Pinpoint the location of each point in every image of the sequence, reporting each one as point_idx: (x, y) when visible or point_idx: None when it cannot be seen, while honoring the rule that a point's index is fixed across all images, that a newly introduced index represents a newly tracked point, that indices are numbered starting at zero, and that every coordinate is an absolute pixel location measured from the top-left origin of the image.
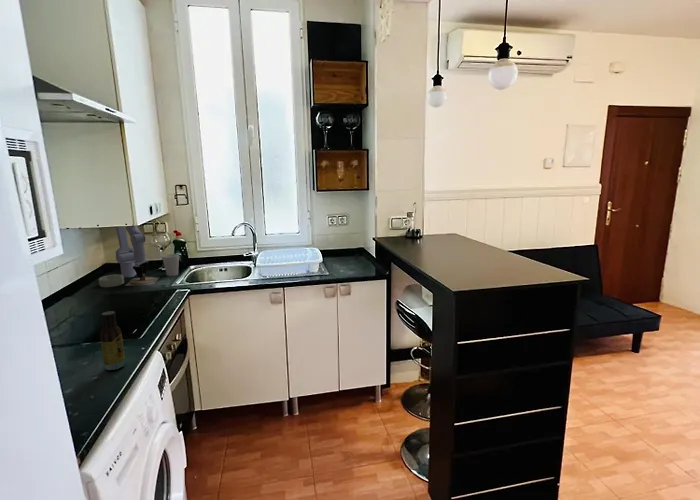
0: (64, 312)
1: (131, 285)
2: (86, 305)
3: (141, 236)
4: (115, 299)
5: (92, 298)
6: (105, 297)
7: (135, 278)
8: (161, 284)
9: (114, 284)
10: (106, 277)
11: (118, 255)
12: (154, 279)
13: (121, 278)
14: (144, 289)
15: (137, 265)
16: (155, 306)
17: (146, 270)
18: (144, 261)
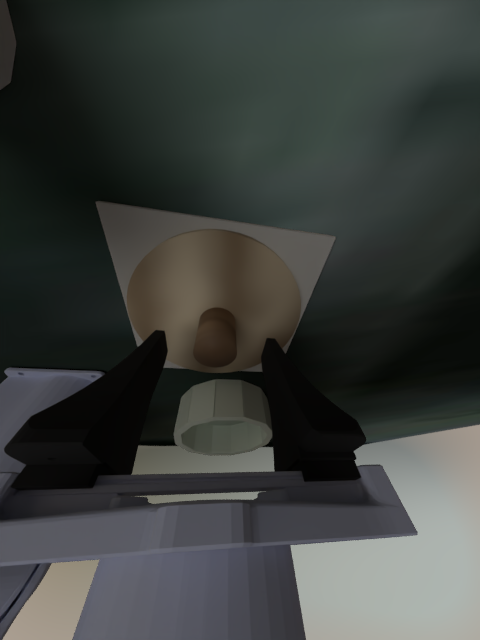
0: (448, 422)
1: (286, 351)
2: (436, 405)
3: None
4: (458, 361)
5: (371, 409)
6: (393, 388)
7: (168, 360)
8: (365, 144)
9: (265, 403)
10: (195, 443)
11: (26, 600)
12: (227, 239)
13: (244, 412)
14: (408, 277)
15: (387, 495)
16: None
17: (143, 349)
18: (270, 538)
